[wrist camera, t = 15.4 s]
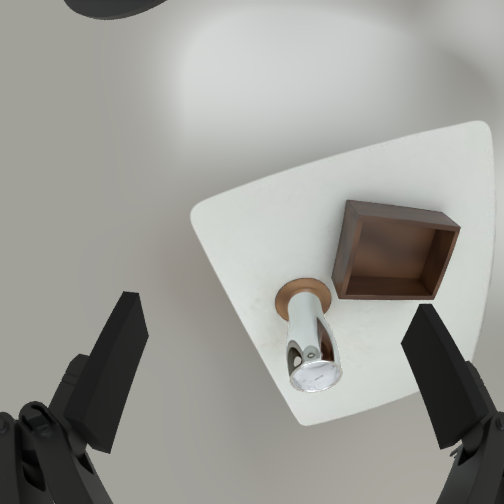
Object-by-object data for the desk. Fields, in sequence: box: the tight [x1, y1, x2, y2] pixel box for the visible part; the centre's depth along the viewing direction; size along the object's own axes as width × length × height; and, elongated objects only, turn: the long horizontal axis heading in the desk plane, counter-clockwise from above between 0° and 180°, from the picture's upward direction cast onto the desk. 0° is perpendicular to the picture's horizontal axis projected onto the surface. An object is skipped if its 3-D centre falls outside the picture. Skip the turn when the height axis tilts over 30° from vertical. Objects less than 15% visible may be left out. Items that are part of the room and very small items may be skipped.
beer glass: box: [285, 288, 342, 392], centre depth 40 cm, size 7×7×15 cm
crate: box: [332, 200, 461, 300], centre depth 39 cm, size 13×17×5 cm
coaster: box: [275, 278, 331, 321], centre depth 47 cm, size 9×9×1 cm
